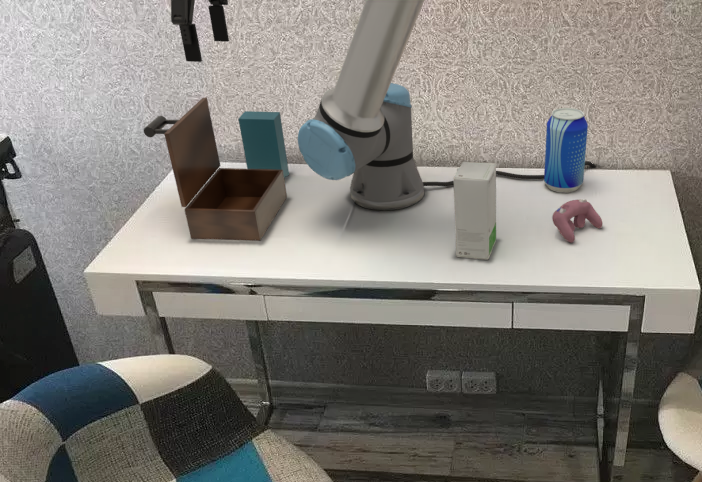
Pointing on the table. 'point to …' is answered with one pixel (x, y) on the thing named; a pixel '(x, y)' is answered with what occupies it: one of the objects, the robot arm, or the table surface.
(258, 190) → the chest
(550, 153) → the beer can
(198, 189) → the lid
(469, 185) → the cosmetic box
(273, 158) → the block
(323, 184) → the table surface
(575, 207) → the video game controller
